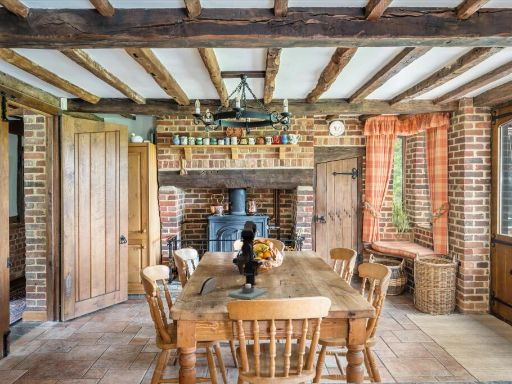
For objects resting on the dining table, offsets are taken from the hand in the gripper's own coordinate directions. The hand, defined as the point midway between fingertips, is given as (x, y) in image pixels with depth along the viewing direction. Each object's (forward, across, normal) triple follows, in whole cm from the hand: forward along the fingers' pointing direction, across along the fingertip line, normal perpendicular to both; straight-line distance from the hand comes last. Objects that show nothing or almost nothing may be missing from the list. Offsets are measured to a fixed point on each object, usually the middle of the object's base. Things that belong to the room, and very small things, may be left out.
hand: (247, 275), depth 249 cm
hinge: (+11, -24, -9) cm, 28 cm away
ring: (+9, +1, -2) cm, 10 cm away
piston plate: (+11, +1, -2) cm, 11 cm away
